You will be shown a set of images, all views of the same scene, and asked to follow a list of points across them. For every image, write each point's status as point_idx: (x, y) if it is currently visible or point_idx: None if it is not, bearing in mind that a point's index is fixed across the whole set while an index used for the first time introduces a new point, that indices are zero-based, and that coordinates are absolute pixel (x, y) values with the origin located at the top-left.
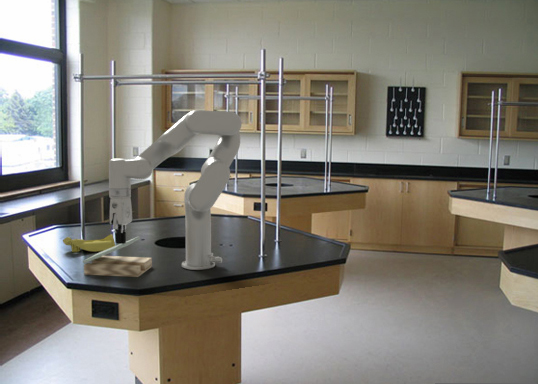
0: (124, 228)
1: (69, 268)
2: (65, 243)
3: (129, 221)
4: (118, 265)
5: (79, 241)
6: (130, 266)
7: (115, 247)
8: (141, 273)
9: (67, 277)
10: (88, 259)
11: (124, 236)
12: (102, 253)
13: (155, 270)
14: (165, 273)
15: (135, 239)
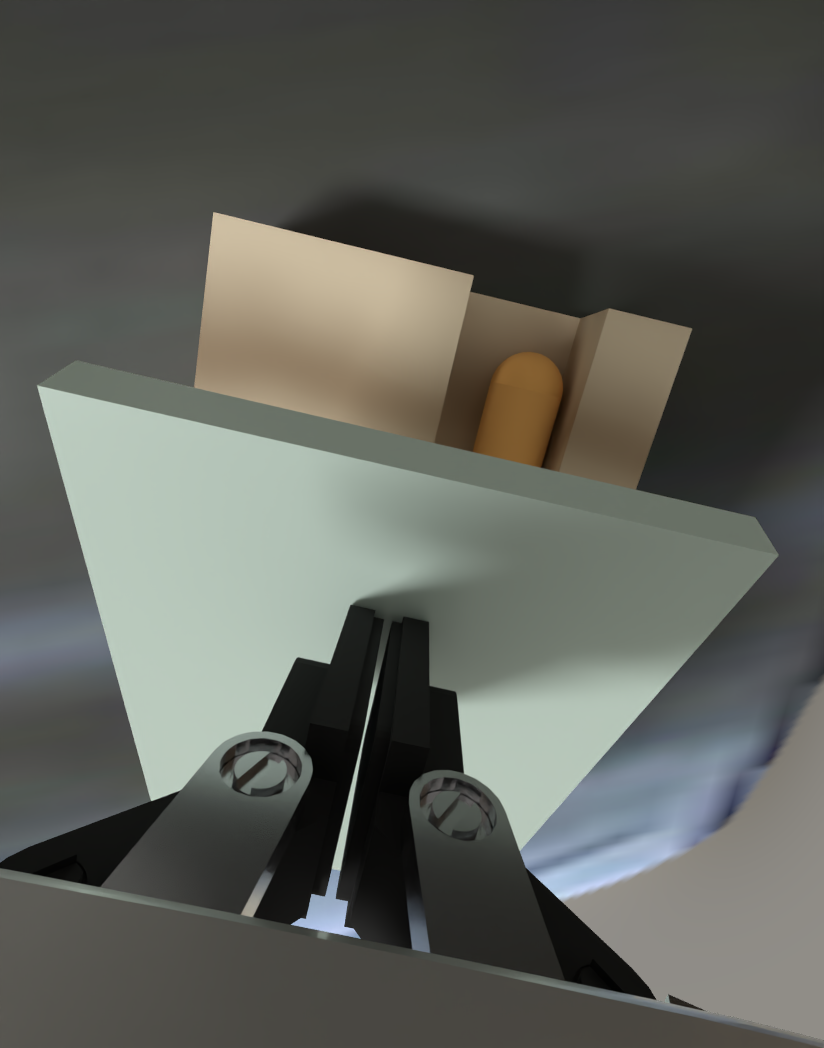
0: (290, 831)
1: (312, 910)
2: None
3: (49, 950)
4: None
5: None
6: (639, 424)
7: (625, 704)
8: (556, 313)
9: (562, 876)
10: None
11: (402, 679)
12: (554, 801)
13: (403, 175)
14: (543, 24)
15: (300, 430)
